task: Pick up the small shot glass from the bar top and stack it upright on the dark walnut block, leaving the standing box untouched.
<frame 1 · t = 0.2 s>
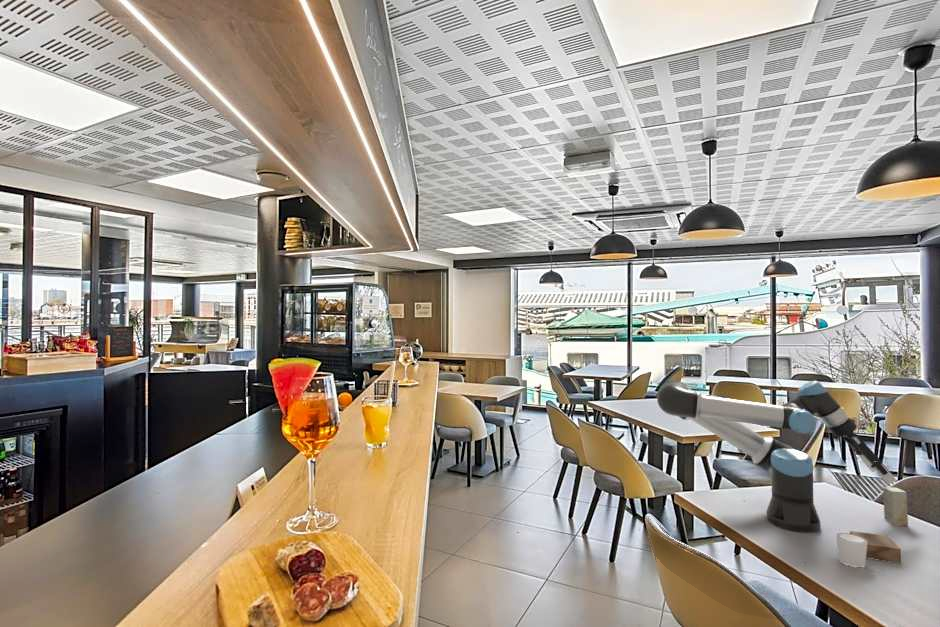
hand: (883, 476, 163), 15 cm above the table, tool tilted 35°, fingers open, 13 cm apart
box: (895, 523, 161), on the table
walnut block: (874, 553, 140), on the table
shot glass: (852, 563, 135), on the table
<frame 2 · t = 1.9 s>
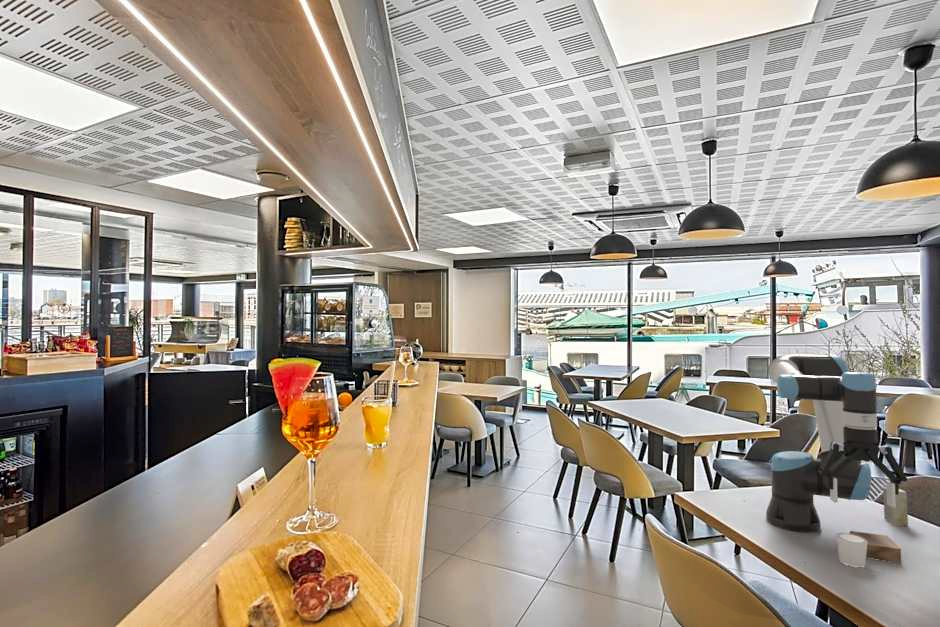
hand: (862, 503, 135), 17 cm above the table, tool pointing down, fingers open, 13 cm apart
nothing on the table moved.
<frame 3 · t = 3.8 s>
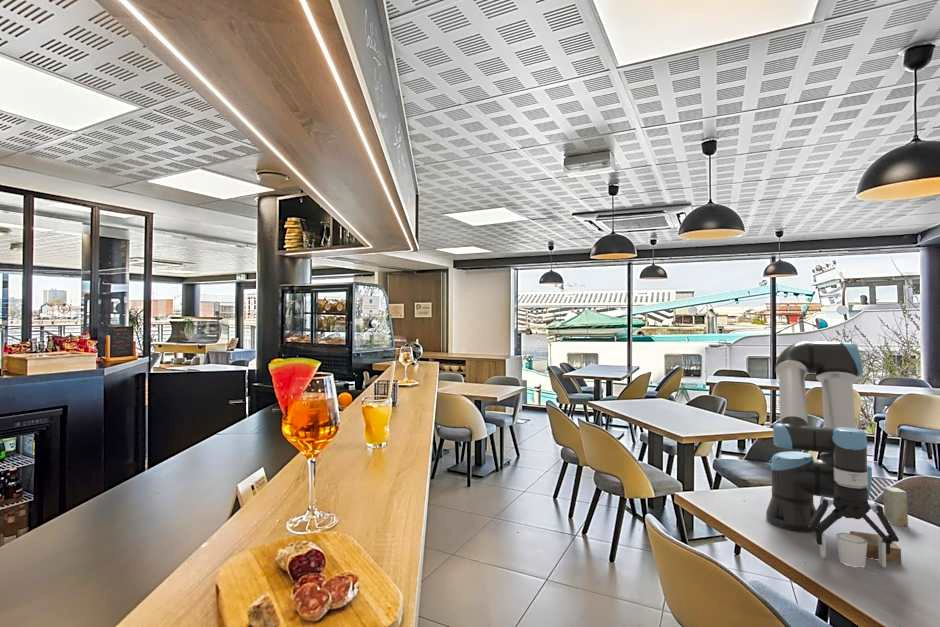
hand: (852, 560, 135), 1 cm above the table, tool pointing down, fingers open, 13 cm apart
nothing on the table moved.
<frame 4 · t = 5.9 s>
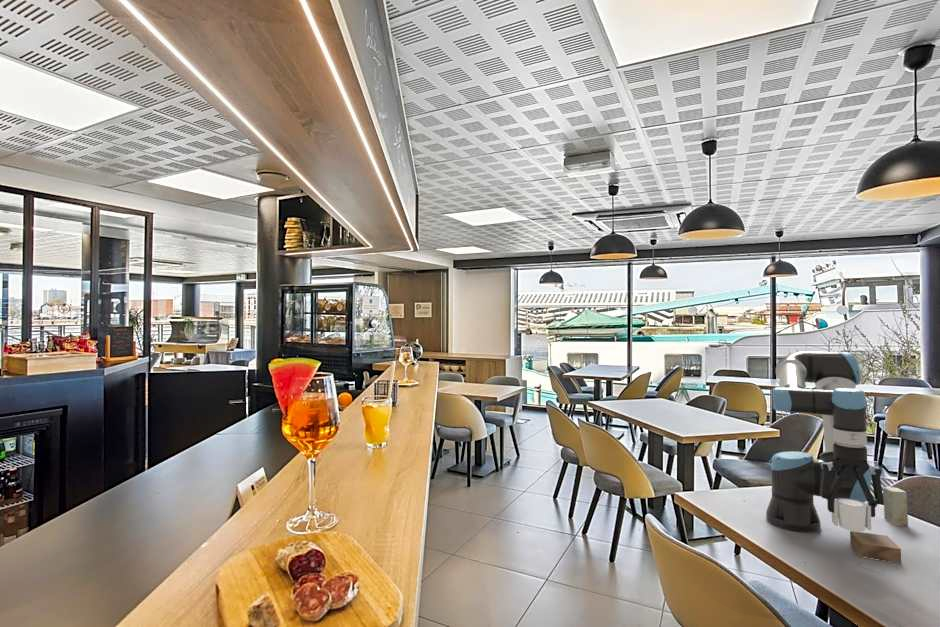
hand: (851, 525, 136), 10 cm above the table, tool pointing down, fingers closed on shot glass, 7 cm apart
shot glass: (851, 527, 135), point 10 cm above the table, touching gripper
everything else where it was.
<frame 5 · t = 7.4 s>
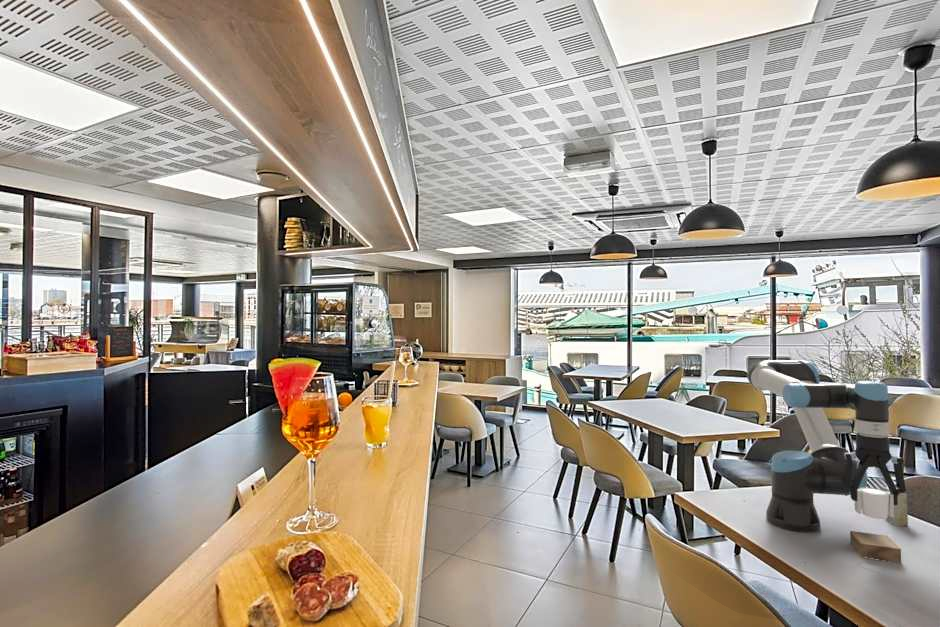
hand: (874, 513, 140), 12 cm above the table, tool pointing down, fingers closed on shot glass, 7 cm apart
shot glass: (874, 515, 140), point 11 cm above the table, touching gripper
everything else where it was.
when the fingers open (4 cm above the table, at t = 9.4 s): shot glass stays where it is, resting on walnut block.
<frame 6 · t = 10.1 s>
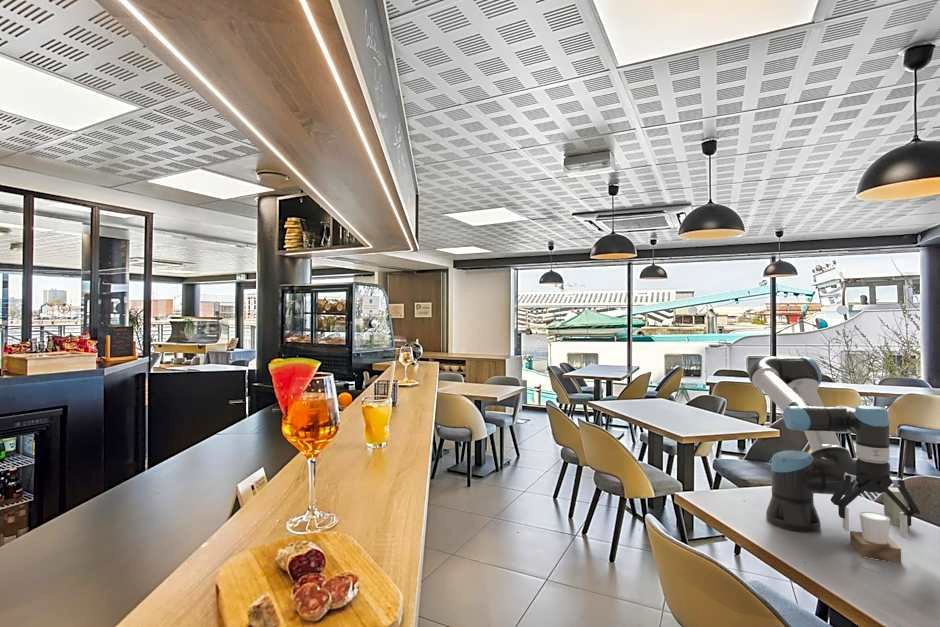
hand: (874, 533, 140), 6 cm above the table, tool pointing down, fingers open, 13 cm apart
shot glass: (875, 540, 140), point 4 cm above the table, touching walnut block
everything else where it was.
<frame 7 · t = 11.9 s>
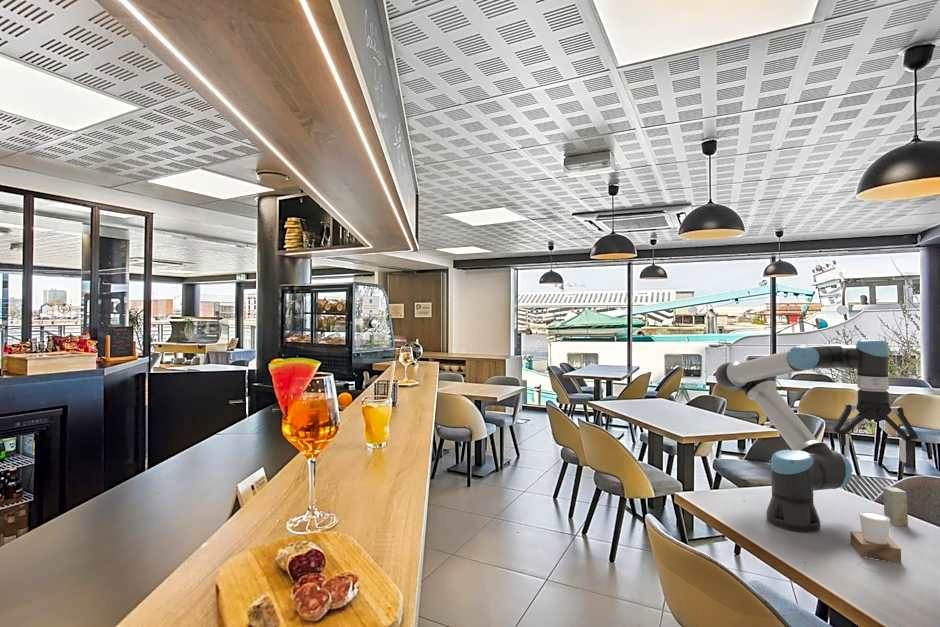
hand: (874, 458, 149), 25 cm above the table, tool pointing down, fingers open, 13 cm apart
nothing on the table moved.
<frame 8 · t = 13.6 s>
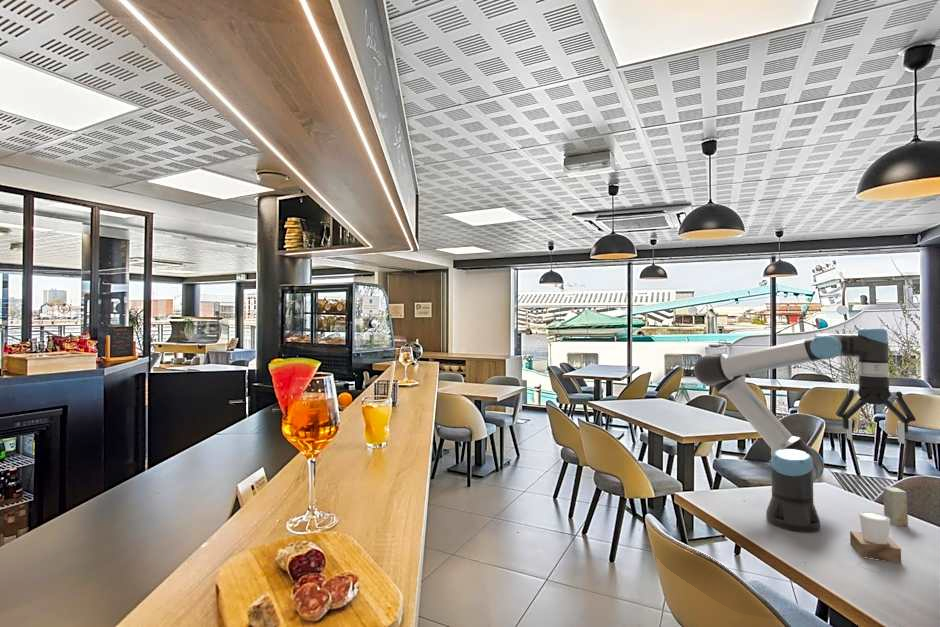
hand: (874, 440, 157), 29 cm above the table, tool pointing down, fingers open, 13 cm apart
nothing on the table moved.
at the end: shot glass inside the target area on the walnut block (0.3 cm from its centre), point 3.8 cm above the walnut block's base; shot glass tilted 0°; the gripper is holding nothing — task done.
